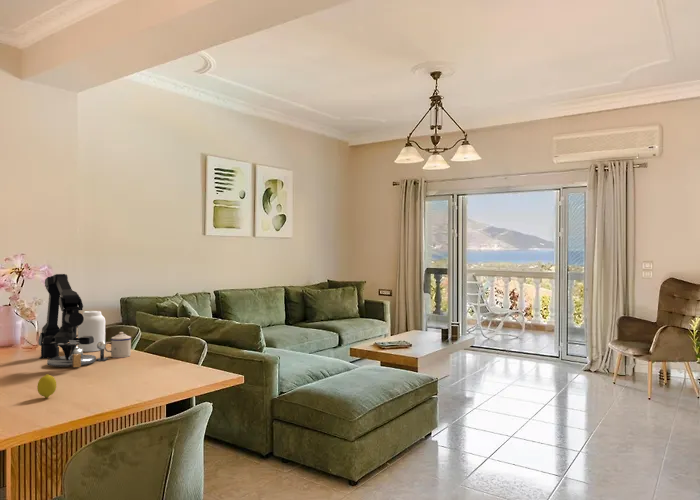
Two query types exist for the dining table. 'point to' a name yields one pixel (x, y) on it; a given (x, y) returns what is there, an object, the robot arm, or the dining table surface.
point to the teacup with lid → (120, 346)
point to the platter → (74, 362)
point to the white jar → (92, 330)
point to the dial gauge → (101, 351)
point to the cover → (77, 352)
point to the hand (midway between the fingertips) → (67, 360)
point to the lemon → (46, 386)
